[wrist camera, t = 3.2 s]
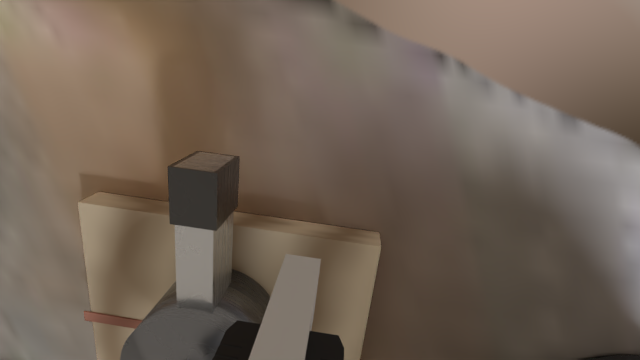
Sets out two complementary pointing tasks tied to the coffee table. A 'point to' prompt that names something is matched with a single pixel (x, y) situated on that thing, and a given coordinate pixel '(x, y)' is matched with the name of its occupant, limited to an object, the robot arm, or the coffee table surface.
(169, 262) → the wooden cutting board
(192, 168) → the saucepan with lid
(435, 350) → the coffee table surface
